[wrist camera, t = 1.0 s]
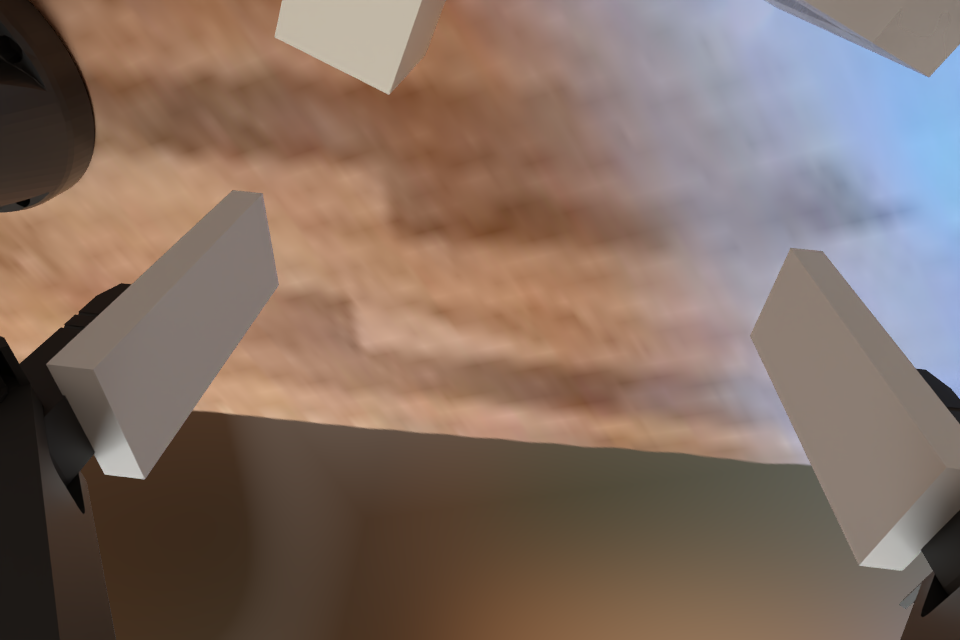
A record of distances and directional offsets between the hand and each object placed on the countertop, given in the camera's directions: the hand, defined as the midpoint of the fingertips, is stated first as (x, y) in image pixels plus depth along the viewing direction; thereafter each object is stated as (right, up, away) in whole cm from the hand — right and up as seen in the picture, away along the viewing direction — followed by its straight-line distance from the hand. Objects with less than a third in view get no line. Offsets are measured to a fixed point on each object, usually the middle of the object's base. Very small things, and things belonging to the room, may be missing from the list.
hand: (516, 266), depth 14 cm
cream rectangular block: (-5, +16, +14) cm, 21 cm away
